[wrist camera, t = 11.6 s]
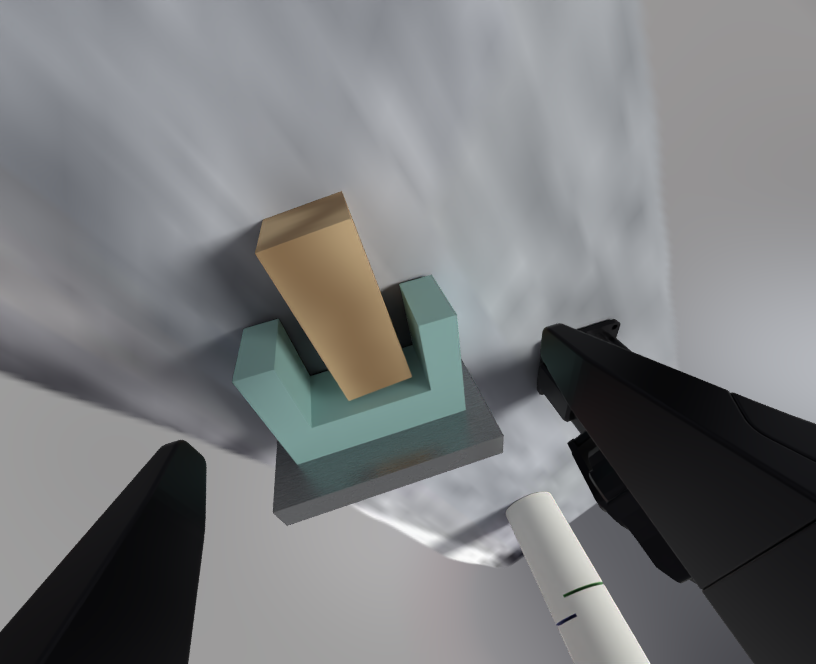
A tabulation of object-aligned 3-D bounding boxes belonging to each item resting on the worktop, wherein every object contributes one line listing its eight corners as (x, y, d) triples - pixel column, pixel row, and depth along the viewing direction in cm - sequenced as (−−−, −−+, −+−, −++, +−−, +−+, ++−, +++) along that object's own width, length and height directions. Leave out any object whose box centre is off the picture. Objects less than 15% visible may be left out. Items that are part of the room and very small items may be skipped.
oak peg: (341, 189, 16) (350, 218, 13) (397, 335, 23) (412, 376, 20) (263, 218, 16) (255, 253, 13) (342, 356, 23) (348, 401, 20)
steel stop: (460, 357, 25) (503, 435, 20) (464, 391, 28) (502, 467, 22) (278, 414, 24) (272, 512, 19) (299, 443, 27) (299, 537, 21)
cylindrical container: (495, 516, 47) (626, 815, 28) (532, 489, 45) (703, 801, 26) (525, 518, 51) (658, 784, 32) (560, 494, 48) (728, 769, 29)
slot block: (431, 274, 20) (456, 314, 16) (444, 366, 25) (465, 409, 22) (243, 328, 19) (232, 382, 16) (297, 411, 24) (297, 464, 21)
